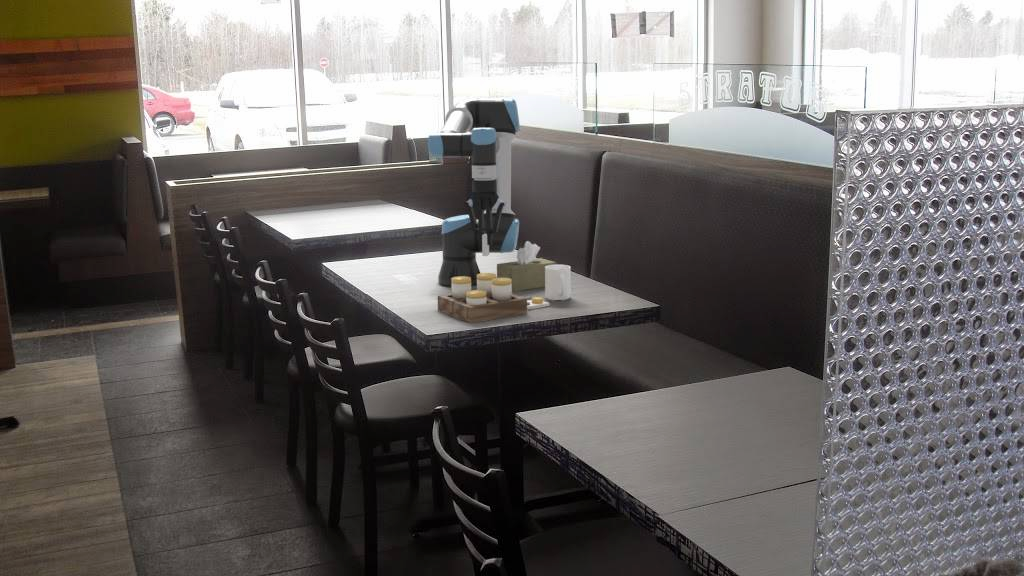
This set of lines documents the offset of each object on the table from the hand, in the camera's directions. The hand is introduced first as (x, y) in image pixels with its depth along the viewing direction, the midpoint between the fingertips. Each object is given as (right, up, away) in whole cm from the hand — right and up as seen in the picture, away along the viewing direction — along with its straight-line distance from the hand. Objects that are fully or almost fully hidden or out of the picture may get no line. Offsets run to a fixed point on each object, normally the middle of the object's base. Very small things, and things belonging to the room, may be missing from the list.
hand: (485, 255), depth 304 cm
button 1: (-7, -13, -2) cm, 15 cm away
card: (+12, -15, +6) cm, 21 cm away
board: (-1, -17, -2) cm, 18 cm away
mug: (+23, -14, +13) cm, 30 cm away
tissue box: (+13, -10, +34) cm, 38 cm away
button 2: (-3, -17, -9) cm, 20 cm away
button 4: (+5, -13, -4) cm, 15 cm away
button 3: (0, -12, +3) cm, 12 cm away
